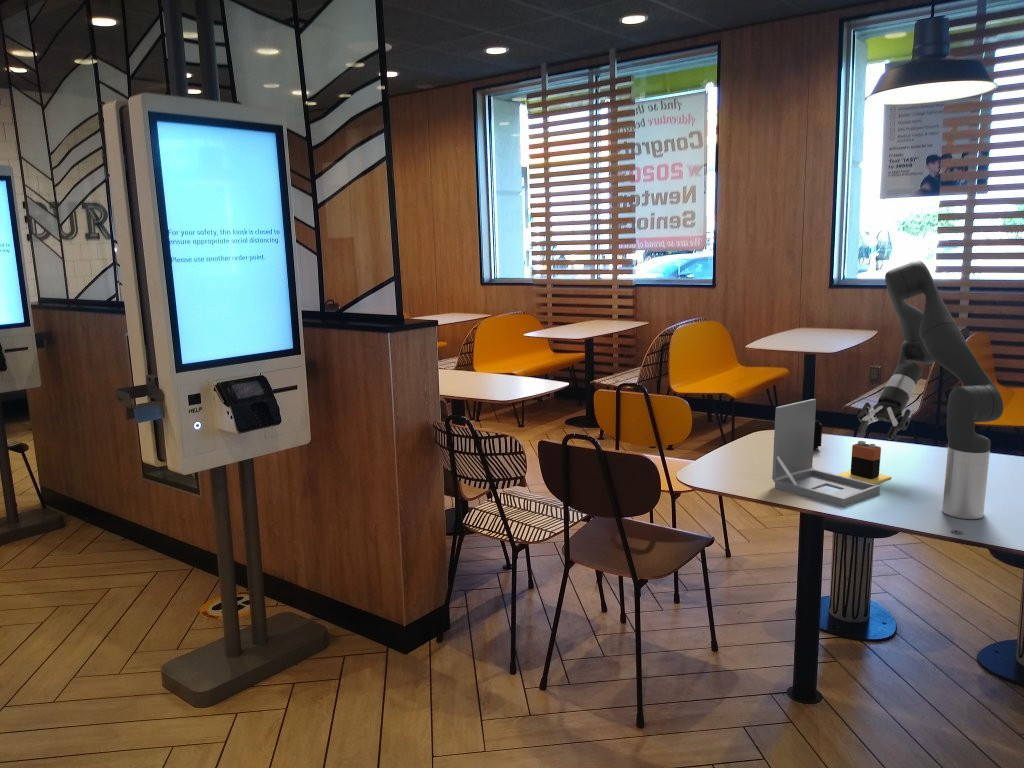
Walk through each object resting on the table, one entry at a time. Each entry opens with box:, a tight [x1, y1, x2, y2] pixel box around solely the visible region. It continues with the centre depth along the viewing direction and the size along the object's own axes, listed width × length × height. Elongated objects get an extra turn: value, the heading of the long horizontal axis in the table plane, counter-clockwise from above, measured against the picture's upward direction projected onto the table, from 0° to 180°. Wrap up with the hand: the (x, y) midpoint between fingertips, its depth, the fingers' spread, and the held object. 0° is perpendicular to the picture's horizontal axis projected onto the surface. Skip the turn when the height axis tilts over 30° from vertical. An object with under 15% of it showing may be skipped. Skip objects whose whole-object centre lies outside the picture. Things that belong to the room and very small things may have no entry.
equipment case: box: [771, 398, 881, 508], centre depth 221 cm, size 18×22×23 cm
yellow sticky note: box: [836, 469, 892, 485], centre depth 234 cm, size 11×11×1 cm
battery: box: [850, 440, 882, 479], centre depth 233 cm, size 4×7×10 cm, turn 36°
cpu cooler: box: [813, 419, 823, 450], centre depth 266 cm, size 10×6×10 cm, turn 82°
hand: (874, 435), depth 235 cm, fingers open, 8 cm apart
